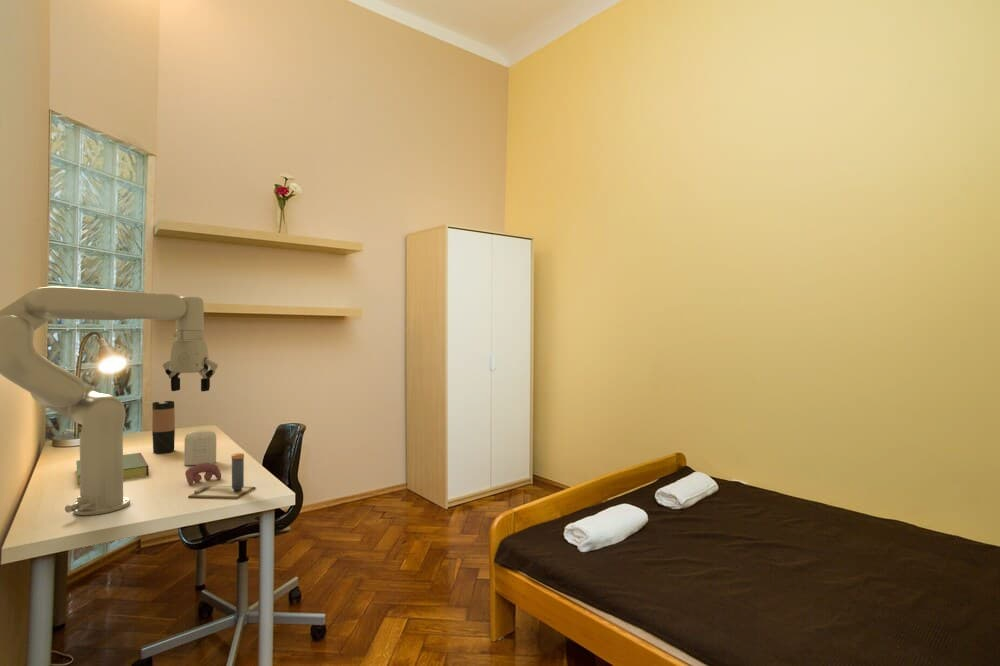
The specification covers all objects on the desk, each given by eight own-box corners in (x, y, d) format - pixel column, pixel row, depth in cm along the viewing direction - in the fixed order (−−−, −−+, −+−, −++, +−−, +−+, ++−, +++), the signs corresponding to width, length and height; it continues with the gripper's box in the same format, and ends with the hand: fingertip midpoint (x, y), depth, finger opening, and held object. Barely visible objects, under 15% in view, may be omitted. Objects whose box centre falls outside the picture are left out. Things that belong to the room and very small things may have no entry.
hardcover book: (148, 476, 178) (148, 465, 178) (77, 487, 166) (77, 475, 166) (140, 462, 197) (140, 452, 197) (76, 470, 185) (76, 460, 185)
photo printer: (217, 461, 196) (216, 428, 196) (215, 463, 192) (215, 430, 192) (185, 464, 192) (185, 430, 192) (183, 466, 188) (183, 432, 188)
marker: (240, 492, 157) (240, 456, 157) (229, 492, 157) (229, 455, 157) (246, 489, 160) (246, 453, 160) (235, 488, 160) (235, 453, 160)
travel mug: (167, 453, 207) (166, 403, 207) (147, 453, 207) (147, 403, 207) (179, 449, 215) (178, 400, 215) (160, 449, 215) (160, 400, 215)
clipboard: (237, 499, 153) (237, 494, 153) (188, 497, 154) (188, 493, 154) (255, 488, 163) (255, 484, 163) (209, 487, 164) (209, 483, 164)
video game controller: (218, 482, 175) (215, 462, 177) (223, 478, 172) (219, 458, 174) (185, 489, 168) (182, 467, 170) (189, 485, 165) (186, 463, 167)
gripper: (155, 336, 161) (155, 392, 161) (209, 336, 159) (209, 392, 160) (172, 336, 168) (172, 389, 168) (223, 336, 167) (224, 389, 167)
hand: (190, 390), depth 164 cm, fingers open, 9 cm apart
